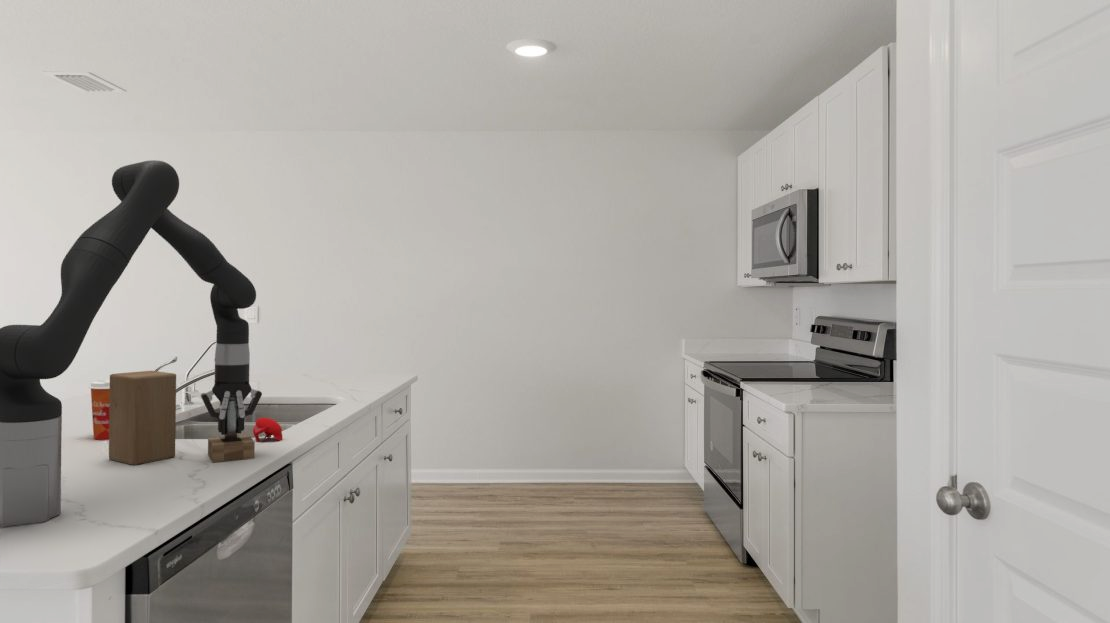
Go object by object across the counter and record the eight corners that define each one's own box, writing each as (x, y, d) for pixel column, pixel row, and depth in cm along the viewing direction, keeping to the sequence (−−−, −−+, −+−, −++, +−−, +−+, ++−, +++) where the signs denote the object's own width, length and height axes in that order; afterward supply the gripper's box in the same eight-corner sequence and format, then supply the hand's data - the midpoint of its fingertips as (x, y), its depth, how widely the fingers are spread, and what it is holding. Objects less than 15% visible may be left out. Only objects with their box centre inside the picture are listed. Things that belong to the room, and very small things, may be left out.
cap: (244, 430, 176) (262, 419, 175) (254, 419, 182) (271, 408, 181) (264, 452, 179) (282, 442, 178) (273, 440, 184) (290, 430, 183)
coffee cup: (80, 439, 175) (81, 382, 175) (110, 433, 183) (110, 378, 182) (105, 442, 172) (105, 384, 172) (133, 436, 180) (134, 380, 180)
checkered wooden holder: (254, 458, 160) (254, 441, 160) (212, 462, 155) (212, 445, 155) (248, 450, 168) (248, 434, 167) (207, 454, 163) (208, 438, 162)
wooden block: (107, 459, 155) (108, 373, 155) (150, 451, 164) (151, 370, 164) (133, 465, 150) (134, 377, 150) (176, 457, 159) (177, 373, 159)
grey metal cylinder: (238, 451, 161) (239, 393, 161) (224, 452, 159) (225, 393, 159) (236, 448, 163) (237, 391, 163) (223, 449, 162) (224, 392, 161)
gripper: (201, 364, 154) (200, 439, 154) (266, 362, 162) (265, 433, 162) (197, 361, 160) (196, 433, 160) (260, 359, 168) (259, 428, 168)
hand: (231, 433), depth 161 cm, fingers open, 3 cm apart
